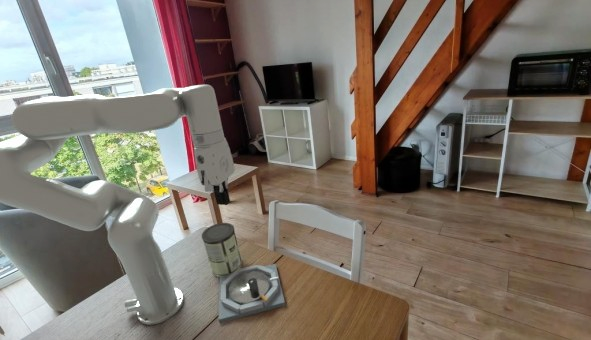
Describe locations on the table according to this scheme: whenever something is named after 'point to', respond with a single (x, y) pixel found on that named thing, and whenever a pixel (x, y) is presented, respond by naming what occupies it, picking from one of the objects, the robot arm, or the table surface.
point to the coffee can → (222, 249)
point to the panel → (269, 301)
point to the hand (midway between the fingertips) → (223, 203)
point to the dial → (249, 287)
